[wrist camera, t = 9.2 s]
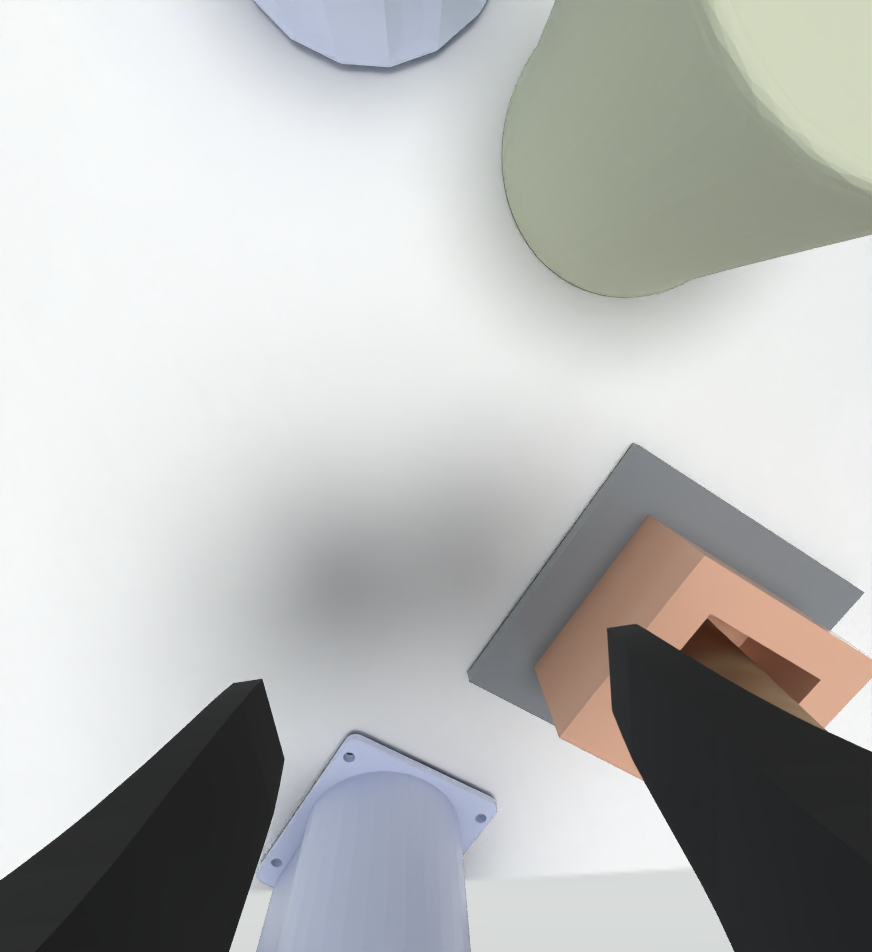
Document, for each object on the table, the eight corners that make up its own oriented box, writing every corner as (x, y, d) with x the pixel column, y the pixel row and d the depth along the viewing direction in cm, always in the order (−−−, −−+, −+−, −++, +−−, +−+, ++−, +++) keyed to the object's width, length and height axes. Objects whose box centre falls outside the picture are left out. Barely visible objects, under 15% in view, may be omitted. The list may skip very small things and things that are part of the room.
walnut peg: (679, 694, 21) (837, 903, 13) (614, 659, 20) (739, 858, 12) (732, 630, 20) (933, 812, 12) (666, 593, 19) (833, 759, 12)
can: (805, 9, 16) (1914, -963, 4) (733, 310, 18) (1306, 243, 6) (522, -33, 15) (861, -1288, 4) (485, 283, 17) (617, 154, 6)
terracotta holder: (677, 781, 23) (737, 880, 19) (467, 672, 21) (480, 754, 17) (852, 585, 21) (965, 648, 17) (633, 442, 19) (696, 471, 15)
